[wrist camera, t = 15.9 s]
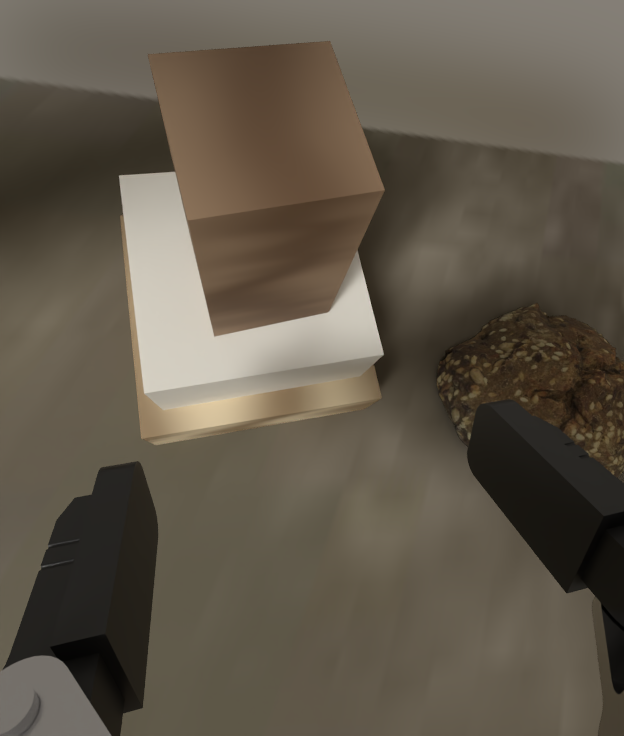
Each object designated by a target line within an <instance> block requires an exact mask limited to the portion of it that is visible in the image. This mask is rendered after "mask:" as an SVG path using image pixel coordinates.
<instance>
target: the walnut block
mask: <svg viewBox="0 0 624 736" xmlns="http://www.w3.org/2000/svg"><path fill="white" fill-rule="evenodd" d="M148 58H149V62H150V66H151V70H152V75H153V79H154V84H155V88H156V92H157V96H158V101H159V105H160V109H161V114H162V118H163V122H164V126H165V131H166V135H167V139H168V144H169V148H170V152H171V156H172V161H173V165H174V169H175V174H176V178H177V182H178V186H179V191H180V195H181V199H182V204H183V208H184V212H185V217H186V221H187V225H188V229H189V234H190V238H191V242H192V246H193V250H194V254H195V259H196V263H197V267H198V271H199V275H200V279H201V283H202V288H203V292H204V296H205V300H206V304H207V308H208V313H209V317H210V321H211V325H212V329H213V333H214V337H215V336H220V335H224V334H229V333H234V332H239V331H243V330H248V329H253V328H257V327H262V326H267V325H271V324H276V323H281V322H286V321H290V320H295V319H300V318H304V317H309V316H314V315H318V314H323V313H328V312H329V310H330V308H331V306H332V304H333V302H334V300H335V297H336V295H337V293H338V291H339V289H340V287H341V284H342V282H343V280H344V278H345V276H346V274H347V271H348V269H349V267H350V265H351V263H352V260H353V258H354V256H355V254H356V252H357V250H358V247H359V245H360V243H361V241H362V239H363V237H364V234H365V232H366V230H367V228H368V226H369V224H370V221H371V219H372V217H373V215H374V213H375V211H376V208H377V206H378V204H379V202H380V200H381V197H382V195H383V193H384V191H385V189H384V186H383V184H382V181H381V178H380V175H379V173H378V170H377V167H376V165H375V162H374V159H373V156H372V154H371V151H370V148H369V146H368V143H367V140H366V137H365V135H364V132H363V129H362V127H361V124H360V121H359V118H358V116H357V113H356V110H355V108H354V105H353V102H352V100H351V97H350V94H349V91H348V89H347V86H346V83H345V81H344V78H343V75H342V73H341V70H340V67H339V64H338V61H337V59H336V56H335V53H334V51H333V48H332V45H331V42H330V41H325V42H310V43H296V44H282V45H269V46H255V47H242V48H228V49H214V50H199V51H186V52H172V53H159V54H148Z"/></svg>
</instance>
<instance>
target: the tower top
mask: <svg viewBox="0 0 624 736" xmlns="http://www.w3.org/2000/svg"><path fill="white" fill-rule="evenodd" d="M119 180H120V189H121V198H122V206H123V215H124V224H125V232H126V241H127V250H128V258H129V267H130V276H131V284H132V293H133V302H134V310H135V319H136V328H137V336H138V345H139V354H140V362H141V371H142V379H143V388H144V394H145V395H146V396H148V397H149V398H150V399H151V400H152V401H153V402H154V403H156V404H157V405H158V406H159V407H160V408H161V409H162V410H167V409H173V408H179V407H185V406H191V405H196V404H202V403H208V402H214V401H220V400H226V399H231V398H237V397H243V396H249V395H255V394H261V393H266V392H272V391H278V390H284V389H290V388H296V387H301V386H307V385H313V384H319V383H325V382H331V381H336V380H342V379H348V378H354V377H360V376H361V375H362V374H363V373H364V372H365V371H367V370H368V369H369V368H370V367H371V366H372V365H373V364H374V363H375V362H376V361H377V360H378V359H380V358H381V357H382V356H383V355H384V353H383V349H382V345H381V341H380V337H379V333H378V329H377V325H376V321H375V317H374V313H373V310H372V306H371V302H370V298H369V294H368V290H367V286H366V282H365V278H364V274H363V270H362V266H361V262H360V258H359V254H358V250H357V252H356V254H355V256H354V258H353V260H352V263H351V265H350V267H349V269H348V271H347V274H346V276H345V278H344V280H343V282H342V284H341V287H340V289H339V291H338V293H337V295H336V297H335V300H334V302H333V304H332V306H331V308H330V310H329V312H328V313H323V314H318V315H314V316H309V317H304V318H300V319H295V320H290V321H286V322H281V323H276V324H271V325H267V326H262V327H257V328H253V329H248V330H243V331H239V332H234V333H229V334H224V335H220V336H215V337H214V333H213V329H212V325H211V321H210V317H209V313H208V308H207V304H206V300H205V296H204V292H203V288H202V283H201V279H200V275H199V271H198V267H197V263H196V259H195V254H194V250H193V246H192V242H191V238H190V234H189V229H188V225H187V221H186V217H185V212H184V208H183V204H182V199H181V195H180V191H179V186H178V182H177V178H176V174H175V172H164V173H149V174H134V175H119Z"/></svg>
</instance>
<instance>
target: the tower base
mask: <svg viewBox="0 0 624 736" xmlns="http://www.w3.org/2000/svg"><path fill="white" fill-rule="evenodd" d="M120 221H121V231H122V242H123V252H124V262H125V273H126V283H127V294H128V304H129V314H130V325H131V335H132V346H133V356H134V367H135V377H136V387H137V398H138V408H139V419H140V429H141V439H143V440H145V441H148V442H150V443H153V444H155V445H159V444H165V443H171V442H177V441H182V440H188V439H194V438H200V437H206V436H211V435H217V434H223V433H229V432H235V431H240V430H246V429H252V428H258V427H264V426H269V425H275V424H281V423H287V422H293V421H298V420H304V419H310V418H316V417H321V416H327V415H333V414H339V413H345V412H350V411H356V410H362V409H365V408H367V407H368V406H370V405H372V404H373V403H375V402H376V401H378V400H380V399H381V398H382V397H381V392H380V388H379V384H378V380H377V375H376V371H375V367H374V364H373V365H372V366H371V367H370V368H369V369H368V370H367V371H365V372H364V373H363V374H362V375H361V376H360V377H354V378H348V379H342V380H336V381H331V382H325V383H319V384H313V385H307V386H301V387H296V388H290V389H284V390H278V391H272V392H266V393H261V394H255V395H249V396H243V397H237V398H231V399H226V400H220V401H214V402H208V403H202V404H196V405H191V406H185V407H179V408H173V409H167V410H162V409H161V408H160V407H159V406H158V405H157V404H156V403H154V402H153V401H152V400H151V399H150V398H149V397H148V396H146V395H145V394H144V388H143V379H142V371H141V362H140V354H139V345H138V336H137V328H136V319H135V310H134V302H133V293H132V284H131V276H130V267H129V258H128V250H127V241H126V232H125V224H124V215H120Z"/></svg>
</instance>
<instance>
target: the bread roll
mask: <svg viewBox="0 0 624 736" xmlns="http://www.w3.org/2000/svg"><path fill="white" fill-rule="evenodd" d="M615 351H616V348H614V347H612V346H611V345H610V344H609V342H608V341H607V340H606V339H604V337H603V336H602V334H598V332H597V331H596V330H595V329H592V328H591V327H590V326H589V325H587V324H585V323H583V322H580V321H577V320H576V319H573V318H569V317H567V316H551V317H549V316H547V314H546V313H544V312H542V311H541V310H540V309H539V305H538V304H537V303H536V304H533V305H531V306H529V307H521V308H519V309H517V310H515V311H512V312H509V313H507V314H505V315H502V316H501V317H499V318H497V319H494V320H491V321H490V322H489V323H488V324H486V325H484V326H483V327H482V331H481V332H479V333H478V334H477V335H476V336H475V337H474V338H472V339H470V340H468V341H465V342H463V343H461V344H459V345H457V346H455V347H452V348H450V349H448V350H447V351H446V356H445V359H444V360H443V361H440V363H439V366H438V372H437V387H438V393H439V396H440V397H441V400H442V402H443V404H444V407H445V409H446V411H447V413H448V416H449V418H450V419H451V421H452V422H453V423H454V425H455V430H456V432H457V433H458V436H459V438H460V439H461V440H462V442H463V443H464V444H465V445H467V446H469V441H470V436H471V432H472V427H473V422H474V418H475V413H476V410H477V408H478V406H479V405H480V404H483V403H489V402H495V401H501V400H507V399H511V400H514V401H516V402H517V403H518V404H519V405H521V406H522V407H523V408H524V409H525V410H526V411H527V412H529V413H530V414H531V415H532V416H536V417H538V418H540V419H542V420H544V421H546V422H548V423H550V424H552V425H554V426H556V427H558V428H559V429H560V430H561V431H562V432H564V433H565V434H566V435H567V436H568V437H569V438H571V439H572V440H573V441H574V443H575V445H579V446H580V447H581V448H582V449H584V450H585V451H586V452H587V453H588V454H589V457H590V458H591V457H593V458H594V459H595V460H597V461H598V462H599V463H600V464H601V465H603V466H604V467H605V468H606V469H607V470H608V471H610V472H611V473H612V474H613V475H614V476H616V477H617V478H618V476H619V475H620V474H622V472H623V471H624V362H623V361H621V360H620V359H618V358H617V357H615V356H616V353H615Z"/></svg>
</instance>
